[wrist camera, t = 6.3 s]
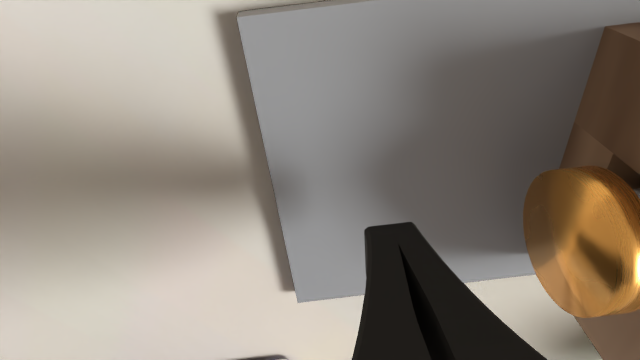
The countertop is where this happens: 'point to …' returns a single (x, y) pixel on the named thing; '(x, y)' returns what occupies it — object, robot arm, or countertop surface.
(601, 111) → the bearing block
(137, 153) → the countertop surface
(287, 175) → the base plate
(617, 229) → the shaft
